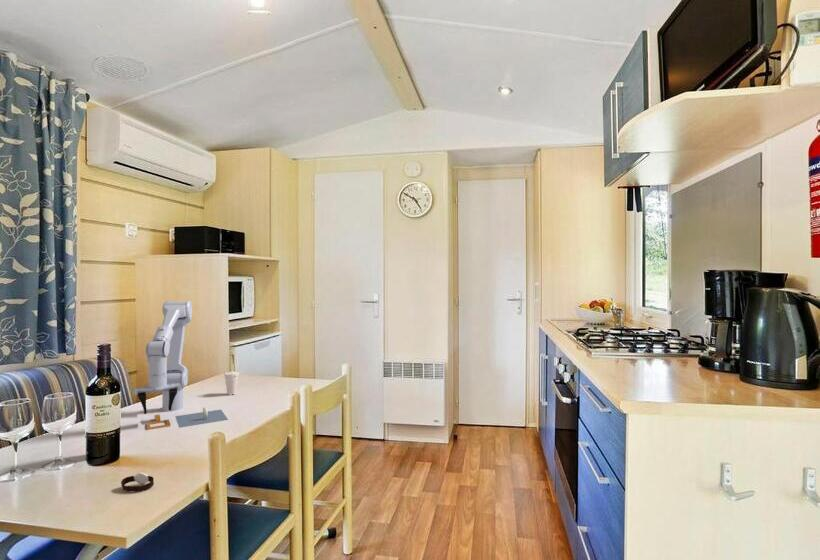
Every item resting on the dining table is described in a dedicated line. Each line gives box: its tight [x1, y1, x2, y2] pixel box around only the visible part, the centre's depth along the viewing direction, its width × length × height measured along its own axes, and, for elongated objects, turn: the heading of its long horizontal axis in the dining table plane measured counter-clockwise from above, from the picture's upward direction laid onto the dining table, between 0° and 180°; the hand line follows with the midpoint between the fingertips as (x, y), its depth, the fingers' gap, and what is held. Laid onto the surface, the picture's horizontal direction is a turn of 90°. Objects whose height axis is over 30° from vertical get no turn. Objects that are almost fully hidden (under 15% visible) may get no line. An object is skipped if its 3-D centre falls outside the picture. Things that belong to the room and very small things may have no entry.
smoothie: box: [223, 363, 240, 396], centre depth 200 cm, size 6×6×14 cm
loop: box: [145, 414, 171, 431], centre depth 156 cm, size 12×7×2 cm, turn 33°
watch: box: [120, 471, 155, 492], centre depth 110 cm, size 8×5×4 cm, turn 89°
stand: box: [175, 406, 229, 429], centre depth 162 cm, size 15×16×5 cm
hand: (157, 411), depth 158 cm, fingers open, 7 cm apart
